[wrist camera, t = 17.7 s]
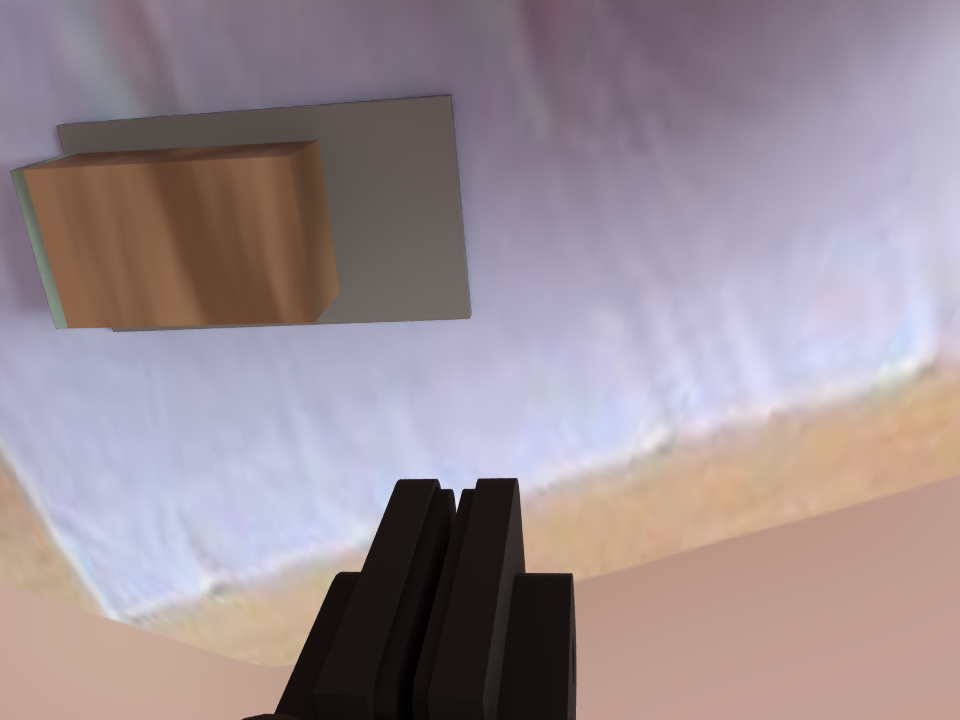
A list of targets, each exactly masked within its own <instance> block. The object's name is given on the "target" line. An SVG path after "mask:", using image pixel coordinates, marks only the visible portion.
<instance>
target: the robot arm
mask: <svg viewBox="0 0 960 720" xmlns="http://www.w3.org/2000/svg"><path fill="white" fill-rule="evenodd" d="M242 720H576V626H575V604H574V584H573V575H572V573H526V572H525V559H524V546H523V532H522V519H521V506H520V492H519V484H518V479H517V478H486V479H478V480H477V483H476V487H475V489H463V491H462V494H461V498H460V502H459V505H458V509H457V513H456V505H455V497H454V492H453V490H452V489H441V486H440V483H439V481H438V479H400V480H398V481H397V483H396V485H395V487H394V490H393V492H392V495H391V497H390V500H389V503H388V505H387V508H386V510H385V513H384V515H383V518H382V520H381V523H380V525H379V528H378V530H377V533H376V535H375V538H374V540H373V543H372V545H371V548H370V550H369V553H368V555H367V558H366V560H365V563H364V566H363V568H362V571H361V572H340V573H338V574H337V575H336V576H335V578H334V580H333V581H332V583H331V586H330V588H329V590H328V593H327V595H326V597H325V599H324V602H323V604H322V606H321V608H320V611H319V613H318V615H317V618H316V620H315V622H314V624H313V627H312V629H311V631H310V633H309V636H308V638H307V640H306V643H305V645H304V647H303V649H302V652H301V654H300V656H299V659H298V661H297V663H296V665H295V668H294V670H293V672H292V674H291V677H290V679H289V681H288V684H287V686H286V688H285V691H284V693H283V695H282V697H281V699H280V702H279V704H278V706H277V709H276V711H275V713H274V714H262V715H258V716H253V717H248V718H244V719H242Z"/></svg>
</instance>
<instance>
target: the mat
mask: <svg viewBox="0 0 960 720" xmlns="http://www.w3.org/2000/svg"><path fill="white" fill-rule="evenodd" d="M57 129H58V133H59V136H60V140H61V144H62V147H63V151H64V155H65V154H79V153H97V152H116V151H134V150H152V149H170V148H188V147H207V146H225V145H243V144H261V143H280V142H298V141H316V140H319V146H320V153H321V160H322V167H323V175H324V182H325V189H326V196H327V203H328V210H329V217H330V224H331V231H332V238H333V245H334V252H335V259H336V266H337V273H338V280H339V287H340V293H339V294H338V296H337V297H336V298H335V299H334V300H333V301H332V303H331V304H330V305H329V306H328V307H327V309H326V310H325V311H324V312H323V313H322V314H321V316H320V317H319V318H318V319H317V320H316V322H313V323H271V324H229V325H187V326H145V327H112V330H113V332H128V331H155V330H182V329H209V328H236V327H263V326H290V325H317V324H344V323H371V322H397V321H424V320H451V319H470V317H471V303H470V292H469V282H468V271H467V260H466V249H465V238H464V228H463V217H462V206H461V195H460V184H459V173H458V163H457V152H456V141H455V130H454V119H453V109H452V98H451V95H438V96H425V97H412V98H399V99H386V100H373V101H359V102H346V103H333V104H320V105H307V106H294V107H281V108H268V109H254V110H241V111H228V112H215V113H202V114H189V115H176V116H163V117H149V118H136V119H123V120H110V121H97V122H84V123H71V124H62V125H58V126H57Z"/></svg>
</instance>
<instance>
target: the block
mask: <svg viewBox="0 0 960 720" xmlns="http://www.w3.org/2000/svg"><path fill="white" fill-rule="evenodd" d="M10 172H11V176H12V179H13V183H14V186H15V190H16V193H17V196H18V200H19V203H20V207H21V210H22V214H23V217H24V221H25V224H26V228H27V231H28V235H29V238H30V242H31V245H32V248H33V252H34V255H35V259H36V262H37V266H38V269H39V273H40V276H41V280H42V283H43V287H44V290H45V294H46V297H47V301H48V304H49V307H50V311H51V314H52V318H53V321H54V325H55V328H56V329H61V328H103V327H145V326H187V325H229V324H271V323H313V322H316V320H317V319H318V318H319V317H320V316H321V314H322V313H323V312H324V311H325V310H326V309H327V307H328V306H329V305H330V304H331V303H332V301H333V300H334V299H335V298H336V297H337V296H338V294H339V293H340V287H339V280H338V273H337V266H336V259H335V252H334V245H333V238H332V231H331V224H330V217H329V210H328V203H327V196H326V189H325V182H324V175H323V167H322V160H321V153H320V146H319V140H316V141H298V142H280V143H261V144H243V145H225V146H207V147H188V148H170V149H152V150H134V151H116V152H97V153H79V154H65V155H61V156H58V157H55V158H51V159H48V160H44V161H41V162H38V163H34V164H31V165H27V166H24V167H20V168H17V169H14V170H10Z"/></svg>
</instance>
